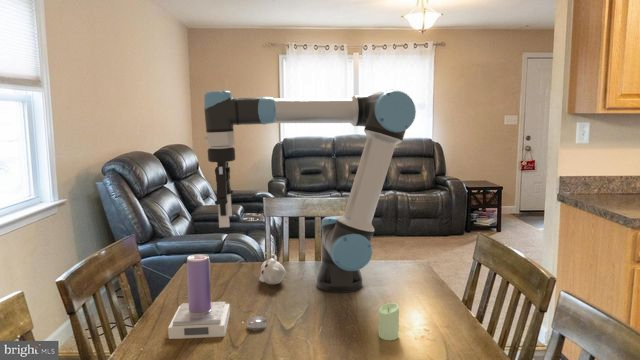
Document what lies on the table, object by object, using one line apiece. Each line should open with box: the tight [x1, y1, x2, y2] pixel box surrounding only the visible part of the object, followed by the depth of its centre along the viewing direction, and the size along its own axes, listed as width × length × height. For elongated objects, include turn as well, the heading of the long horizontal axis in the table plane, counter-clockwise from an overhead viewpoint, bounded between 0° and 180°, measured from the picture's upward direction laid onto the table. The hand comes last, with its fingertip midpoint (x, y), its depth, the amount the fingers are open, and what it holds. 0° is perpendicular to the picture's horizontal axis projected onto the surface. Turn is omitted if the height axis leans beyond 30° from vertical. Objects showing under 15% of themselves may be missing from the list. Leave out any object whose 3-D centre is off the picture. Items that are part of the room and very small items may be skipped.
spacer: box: [246, 315, 267, 332], centre depth 129 cm, size 5×5×2 cm
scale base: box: [167, 303, 231, 340], centre depth 129 cm, size 14×14×3 cm
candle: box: [378, 302, 400, 341], centre depth 122 cm, size 5×5×8 cm
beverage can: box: [186, 253, 213, 315], centre depth 128 cm, size 6×6×15 cm
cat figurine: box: [259, 253, 287, 285], centre depth 162 cm, size 10×8×15 cm
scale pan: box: [173, 301, 227, 325], centre depth 129 cm, size 12×12×1 cm
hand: (226, 221), depth 137 cm, fingers open, 13 cm apart
